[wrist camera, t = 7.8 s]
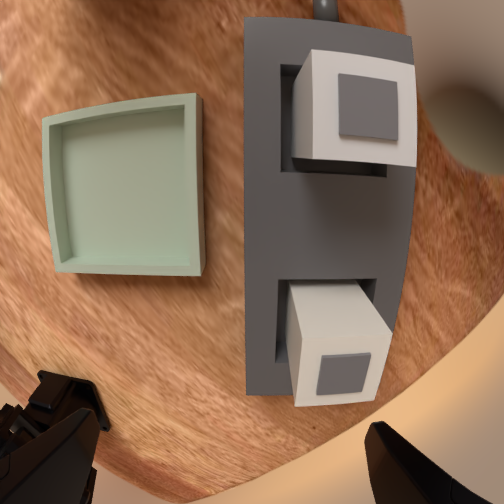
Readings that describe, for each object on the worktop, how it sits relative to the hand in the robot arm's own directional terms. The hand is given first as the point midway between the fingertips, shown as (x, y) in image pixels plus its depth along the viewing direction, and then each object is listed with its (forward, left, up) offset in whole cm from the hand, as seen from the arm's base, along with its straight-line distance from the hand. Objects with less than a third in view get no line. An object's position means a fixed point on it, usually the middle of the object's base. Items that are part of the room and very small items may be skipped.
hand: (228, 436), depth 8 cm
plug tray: (+6, +7, -12) cm, 15 cm away
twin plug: (+10, -5, -11) cm, 16 cm away
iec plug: (-1, -5, -11) cm, 12 cm away
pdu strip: (+6, -5, -12) cm, 14 cm away
